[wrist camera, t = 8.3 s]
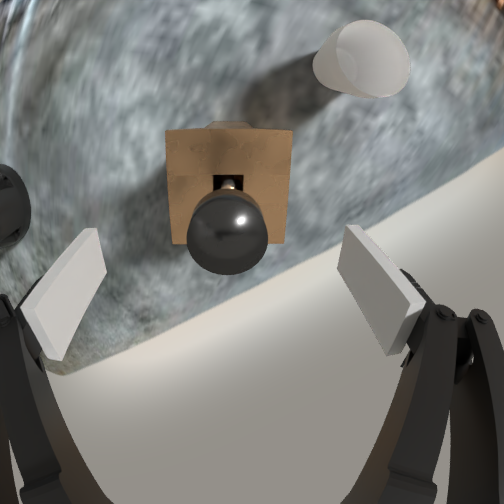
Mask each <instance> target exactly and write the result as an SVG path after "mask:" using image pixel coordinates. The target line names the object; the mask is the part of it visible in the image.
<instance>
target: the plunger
mask: <svg viewBox="0 0 504 504" xmlns="http://www.w3.org/2000/svg"><path fill="white" fill-rule="evenodd" d="M186 241H187V247H188V250H189V252H190V254H191V256H192V258H193V259H194V260H195V261H196V263H198V264H199V265H200V266H201V267H202V268H204V269H206V270H208V271H210V272H212V273H216V274H220V275H234V274H239V273H242V272H245V271H247V270H249V269H251V268H252V267H253V266H255V265H256V264H257V263H258V262H259V261H260V260H261V259H262V257H263V255H264V254H265V251H266V249H267V245H268V232H267V228H266V224H265V221H264V218H263V214H262V211H261V209H260V206H259V205H258V203H257V202H256V201H255V200H254V199H253V198H252V197H251V196H250V195H248V194H247V193H245V192H243V175H213V191H212V192H210V193H208V194H207V195H205V196H204V197H203V198H202V199H201V200H200V201H199V202H198V203H197V205H196V207H195V209H194V211H193V214H192V217H191V220H190V224H189V227H188V230H187V236H186Z"/></svg>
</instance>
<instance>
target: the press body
mask: <svg viewBox="0 0 504 504" xmlns="http://www.w3.org/2000/svg"><path fill="white" fill-rule="evenodd" d="M292 136H293V131H292V130H282V129H261V128H253V127H252V126H250V125H249V124H248V123H247V122H244V121H213V122H212V123H211V124H209V125H208V126H207V127H205V128H195V129H174V130H166V131H165V142H166V167H167V185H168V199H169V212H170V223H171V234H172V243H173V244H187V241H186V236H187V230H188V227H189V224H190V220H191V217H192V214H193V211H194V209H195V207H196V205H197V203H198V202H199V201H200V200H201V199H202V198H203V197H204V196H205V195H207V194H208V193H210V192H212V191H213V175H243V192H245V193H247V194H248V195H250V196H251V197H252V198H253V199H254V200H255V201H256V202H257V203H258V205H259V206H260V209H261V211H262V214H263V218H264V221H265V224H266V228H267V232H268V244H284V238H285V227H286V216H287V204H288V192H289V179H290V165H291V151H292Z"/></svg>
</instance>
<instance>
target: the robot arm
mask: <svg viewBox="0 0 504 504" xmlns="http://www.w3.org/2000/svg"><path fill="white" fill-rule="evenodd" d="M30 219H31V206H30V200H29V196H28V192H27V190H26V187H25V185H24V183H23V181H22V179H21V178H20V176H19V175H18V174H17V172H16V171H15V170H13V169H12V168H11V167H9V166H7V165H4V164H0V249H1V248H4V247H7V246H11V245H13V244H15V243H16V242H18V241H19V240H20V239H21V238H22V237H23V236H24V235H25V234H26V232H27V230H28V228H29V225H30ZM337 269H338V271H339V273H340V275H341V276H342V278H343V280H344V281H345V283H346V285H347V287H348V288H349V290H350V292H351V293H352V295H353V297H354V298H355V300H356V302H357V304H358V305H359V307H360V309H361V311H362V313H363V314H364V316H365V318H366V320H367V321H368V323H369V325H370V327H371V329H372V331H373V332H374V334H375V336H376V338H377V340H378V341H379V343H380V345H381V347H382V349H383V351H384V353H385V355H386V356H389V355H394V354H399V353H401V352H402V350H403V348H404V346H405V344H406V343H407V344H408V346H409V348H410V351H409V352H408V354H407V356H406V358H405V359H404V361H403V363H402V365H401V367H403V366H404V367H403V370H402V374H401V377H400V380H399V383H398V386H397V389H396V392H395V395H394V398H393V400H392V403H391V406H390V409H389V411H388V414H387V416H386V419H385V421H384V424H383V426H382V429H381V431H380V433H379V436H378V438H377V441H376V443H375V445H374V447H373V449H372V451H371V454H370V456H369V458H368V460H367V462H366V464H365V466H364V468H363V470H362V472H361V473H360V475H359V477H358V479H357V481H356V483H355V485H354V486H353V488H352V490H351V491H350V493H349V494H348V495H347V496H346V497H345V499H344V500H343V501H342V502H341V504H433V503H434V501H435V498H436V494H437V485H436V484H435V483H433V482H432V478H433V474H434V471H435V467H436V464H437V461H438V457H439V454H440V449H441V446H442V442H443V438H444V434H445V429H446V425H447V420H448V415H449V409H450V432H451V450H450V475H449V486H448V496H447V504H504V350H503V347H502V345H501V342H500V339H499V336H498V333H497V331H496V328H495V325H494V323H493V320H492V319H491V317H490V316H489V315H488V314H487V313H486V312H484V311H483V310H479V309H473V310H471V312H470V314H469V316H468V318H461V317H457V316H456V314H455V312H454V311H453V310H451V309H450V308H448V307H446V306H444V305H440V304H439V305H435V304H434V302H433V301H432V300H431V299H430V298H429V296H428V295H427V294H426V293H425V292H424V290H423V289H422V288H420V286H419V285H418V283H416V281H415V280H414V279H413V277H412V276H411V275H410V274H408V273H407V272H405V271H404V270H402V269H398V268H397V266H396V265H395V264H394V263H393V262H392V261H391V260H390V259H389V257H388V256H387V255H386V254H385V253H384V252H383V251H382V250H381V249H380V248H379V246H378V245H377V244H376V243H375V242H374V241H373V240H372V239H371V238H370V237H369V236H368V235H367V234H366V232H365V231H364V230H363V229H362V228H361V227H360V226H359V225H346V227H345V232H344V237H343V243H342V248H341V253H340V258H339V262H338V267H337ZM106 273H107V271H106V267H105V263H104V259H103V255H102V250H101V246H100V242H99V237H98V232H97V228H85V229H84V230H83V231H82V232H81V233H80V234H79V235H78V236H77V237H76V239H75V240H74V241H73V242H72V243H71V244H70V245H69V246H68V248H67V249H66V250H65V251H64V252H63V253H62V254H61V256H60V257H59V258H58V259H57V260H56V262H55V263H54V264H53V265H52V266H51V268H50V269H49V270H48V271H47V272H46V274H45V275H43V276H42V277H40V278H39V279H38V280H36V282H35V283H34V284H33V285H32V287H31V289H29V291H28V292H27V295H25V296H24V297H23V299H22V300H21V301H20V303H19V304H18V306H17V307H16V308H15V310H14V309H13V307H12V305H11V303H10V301H9V299H8V296H7V295H5V294H0V504H19V501H18V497H17V492H16V487H15V482H14V476H13V470H12V464H11V456H10V447H9V440H10V443H11V446H12V450H13V453H14V456H15V459H16V462H17V465H18V468H19V470H20V472H21V476H22V478H23V481H24V487H22V488H21V489H20V497H21V501H22V503H23V504H114V503H113V502H111V501H110V500H109V499H108V498H107V497H106V495H105V494H104V493H103V491H102V490H101V488H100V487H99V485H98V484H97V482H96V480H95V479H94V477H93V476H92V474H91V472H90V470H89V469H88V467H87V466H86V463H85V462H84V460H83V458H82V456H81V454H80V453H79V450H78V448H77V447H76V445H75V443H74V440H73V439H72V436H71V434H70V432H69V430H68V428H67V426H66V423H65V421H64V419H63V417H62V414H61V412H60V409H59V407H58V404H57V402H56V399H55V397H54V394H53V391H52V389H51V386H50V383H49V380H48V377H47V374H46V371H45V368H44V364H43V361H42V359H41V358H40V356H39V354H40V352H41V350H42V349H43V351H44V353H45V354H46V356H47V358H48V359H52V360H58V361H62V359H63V357H64V355H65V353H66V350H67V348H68V346H69V344H70V342H71V340H72V337H73V335H74V333H75V331H76V329H77V327H78V325H79V323H80V321H81V319H82V317H83V315H84V313H85V311H86V309H87V307H88V305H89V304H90V302H91V300H92V298H93V296H94V294H95V292H96V291H97V289H98V287H99V285H100V283H101V282H102V280H103V278H104V276H105V275H106ZM473 357H474V360H473V363H472V358H473Z"/></svg>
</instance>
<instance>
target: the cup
mask: <svg viewBox="0 0 504 504" xmlns="http://www.w3.org/2000/svg"><path fill="white" fill-rule="evenodd" d="M313 72H314V74H315V76H316V78H317V79H318V81H319V82H320V83H321V84H322V85H324V86H325V87H327V88H329V89H332V90H336V91H339V92H343V93H346V94H350V95H353V96H357V97H361V98H378V97H388V96H392V95H394V94H396V93H398V92H399V91H401V90H402V89H403V88H404V86H405V85H406V83H407V81H408V79H409V75H410V59H409V55H408V52H407V50H406V48H405V46H404V44H403V42H402V41H401V40H400V38H399V37H398V36H397V35H396V34H395V33H394V32H393V31H392V30H391V29H389V28H388V27H386V26H384V25H383V24H380V23H378V22H375V21H370V20H358V21H355V22H352V23H350V24H347V25H345V26H342V27H340V28H338V29H337V30H335V31H334V32H333V33H332V34H331V35H330V36H329V38H328V39H327V40H326V41H325V43H324V44H323V45H322V47H321V48H320V50H319V51H318V52H317V54H316V55H315V57H314V59H313Z"/></svg>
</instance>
